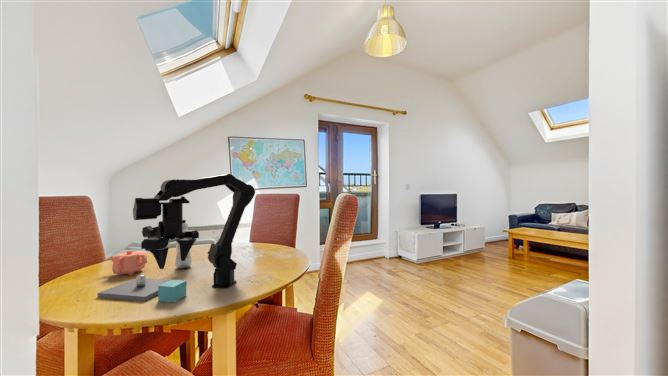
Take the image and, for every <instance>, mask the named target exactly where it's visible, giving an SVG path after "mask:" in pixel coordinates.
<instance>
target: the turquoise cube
mask: <svg viewBox="0 0 668 376" xmlns="http://www.w3.org/2000/svg"><path fill="white" fill-rule="evenodd" d="M169 280H170V281H168V282H166V283H163V284H161V285H159V286H158V295H157V300H158V302H161V303H176V302H178V301H179V300H182V298H184V297H186V296H187V280H180V279H179V280H178V279H169Z"/></svg>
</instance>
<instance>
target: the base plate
mask: <svg viewBox="0 0 668 376" xmlns="http://www.w3.org/2000/svg"><path fill="white" fill-rule="evenodd" d="M170 280H171V279H164V278H162V279H161V278H151V277H150V278H148V277H146V286H144V287H141V288H137V287H136V278H133V279H130V280H128V281H124V282H123V283H120V284H117V285H114V286H113V287H109V288H107V289H105V290H102V291H100V292H97V298H99V299H112V300H122V301H123V300H126V301H136V302H139V301H140V302H147V301H149V300H151V299H153V298H154V297H158V286H159V285H161V284H163V283H166V282H168V281H170Z"/></svg>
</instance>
